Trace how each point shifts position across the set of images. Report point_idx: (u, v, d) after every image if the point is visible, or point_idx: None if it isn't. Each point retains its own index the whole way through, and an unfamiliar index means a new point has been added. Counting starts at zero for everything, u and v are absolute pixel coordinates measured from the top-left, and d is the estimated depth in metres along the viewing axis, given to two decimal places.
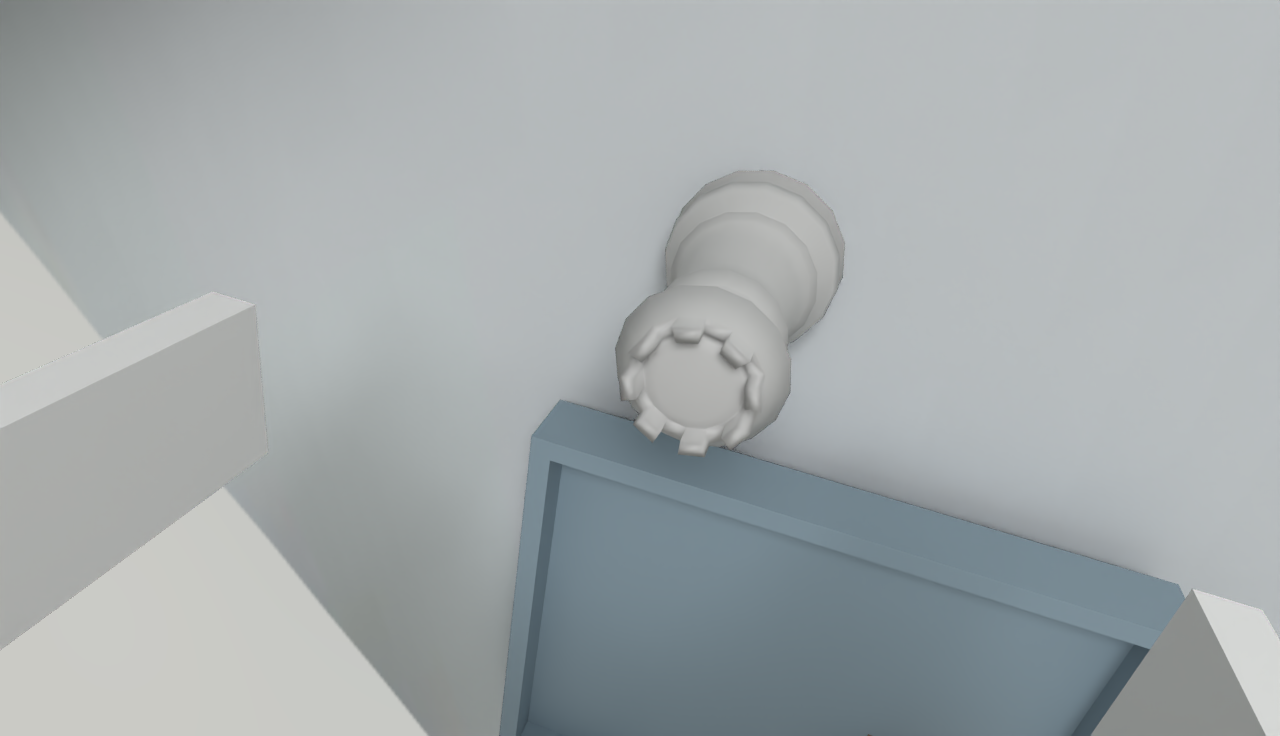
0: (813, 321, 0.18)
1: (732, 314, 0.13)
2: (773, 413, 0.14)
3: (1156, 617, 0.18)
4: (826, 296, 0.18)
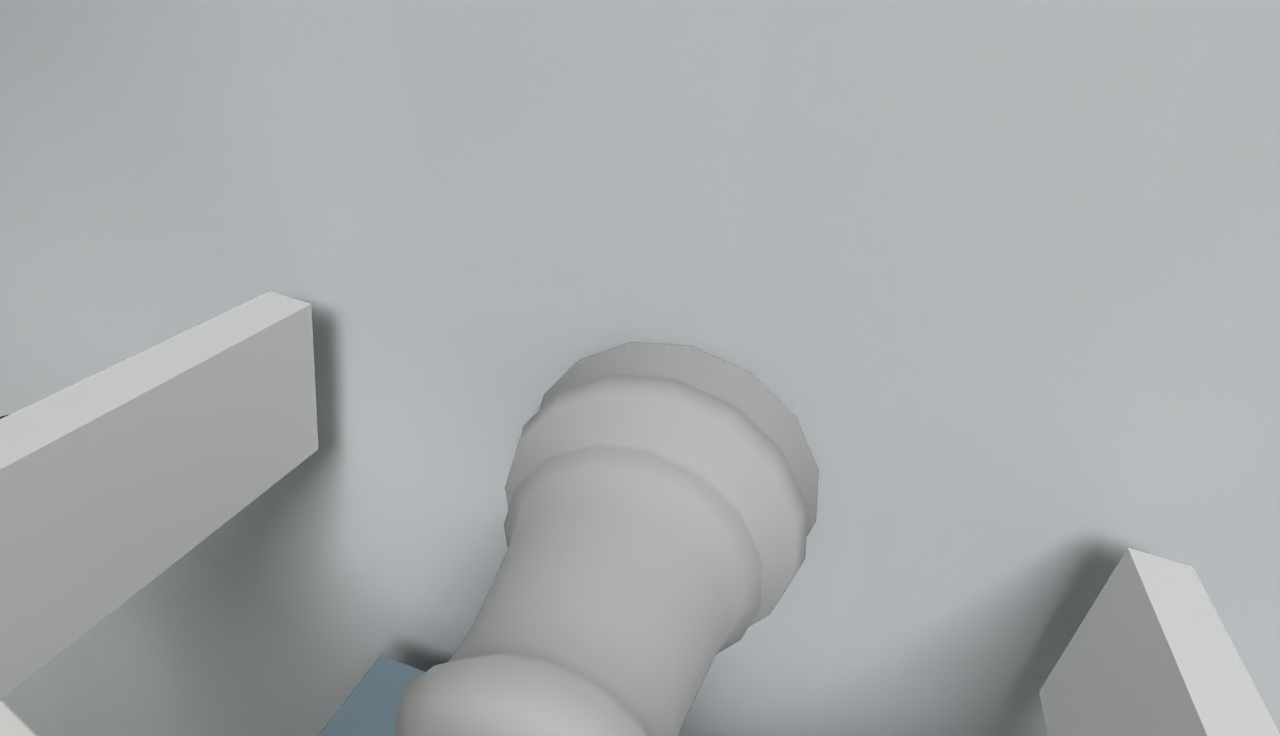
0: (761, 616, 0.10)
1: None
2: None
3: None
4: (782, 582, 0.10)
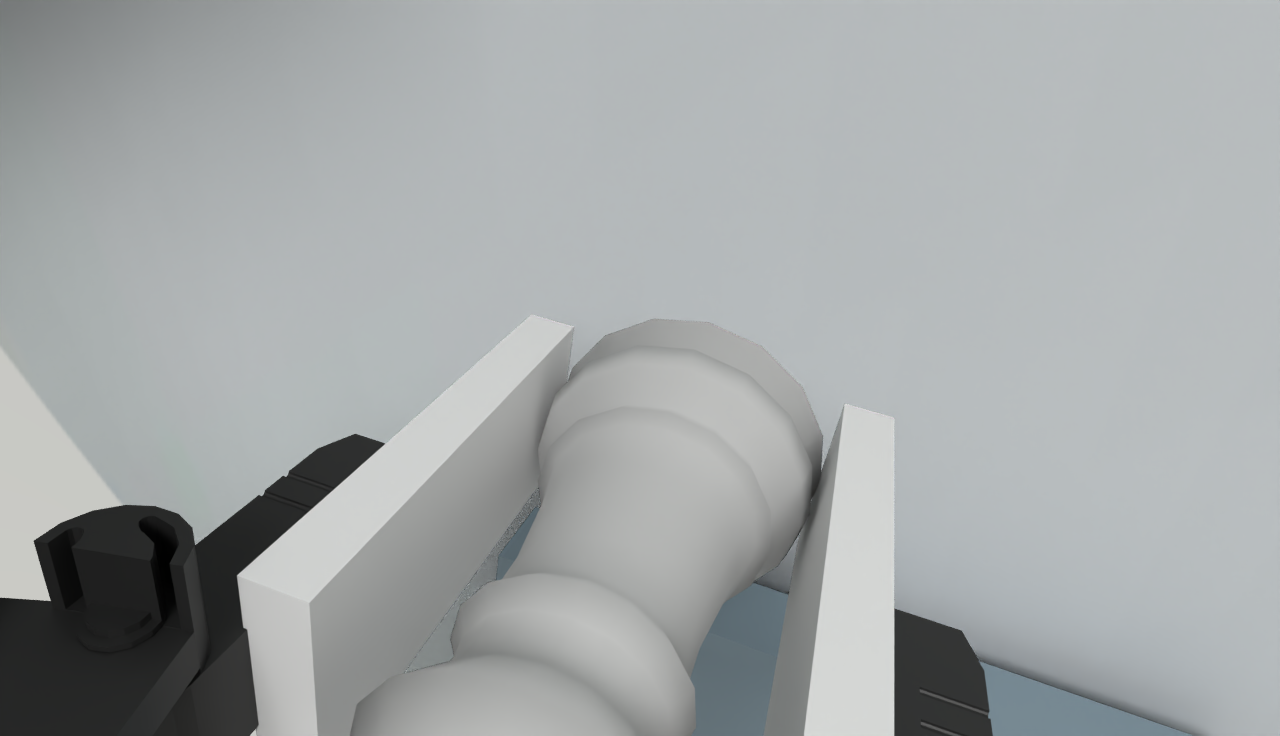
0: (769, 568, 0.11)
1: None
2: None
3: None
4: (789, 534, 0.11)
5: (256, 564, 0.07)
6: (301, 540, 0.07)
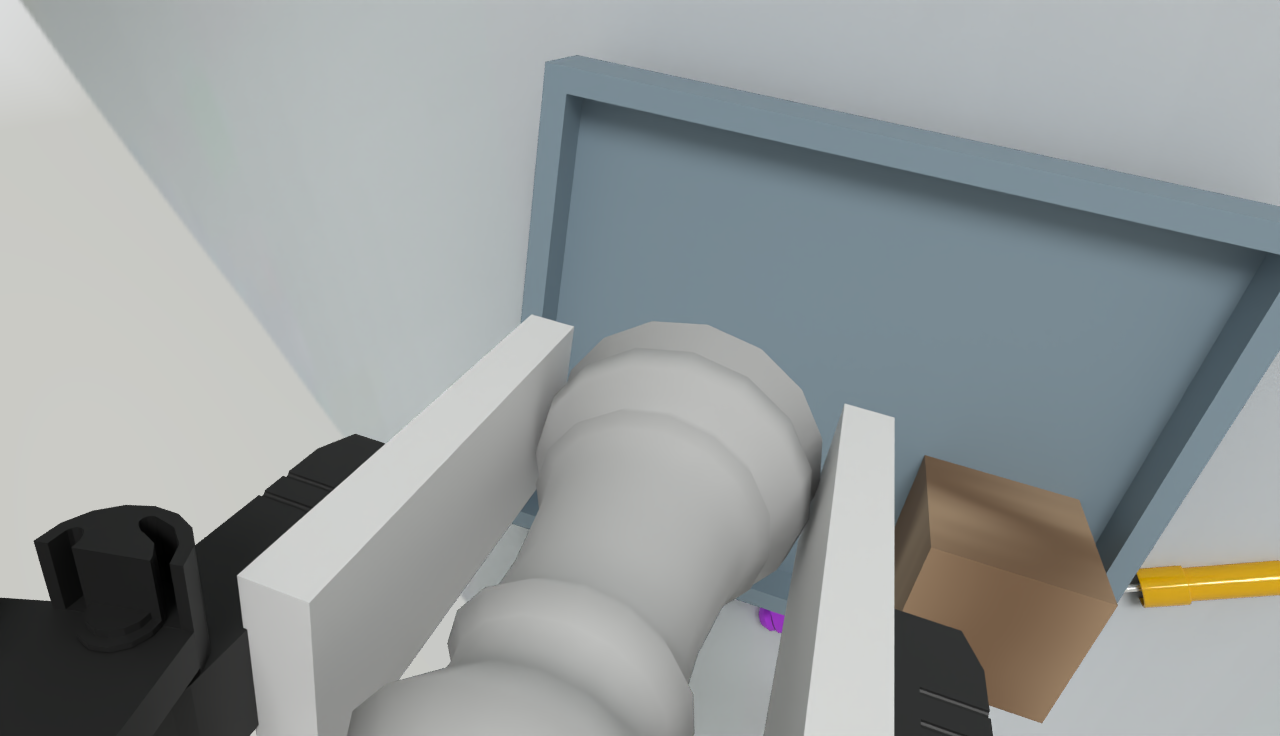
0: (768, 571, 0.11)
1: None
2: None
3: None
4: (788, 538, 0.11)
5: (256, 564, 0.07)
6: (301, 540, 0.07)
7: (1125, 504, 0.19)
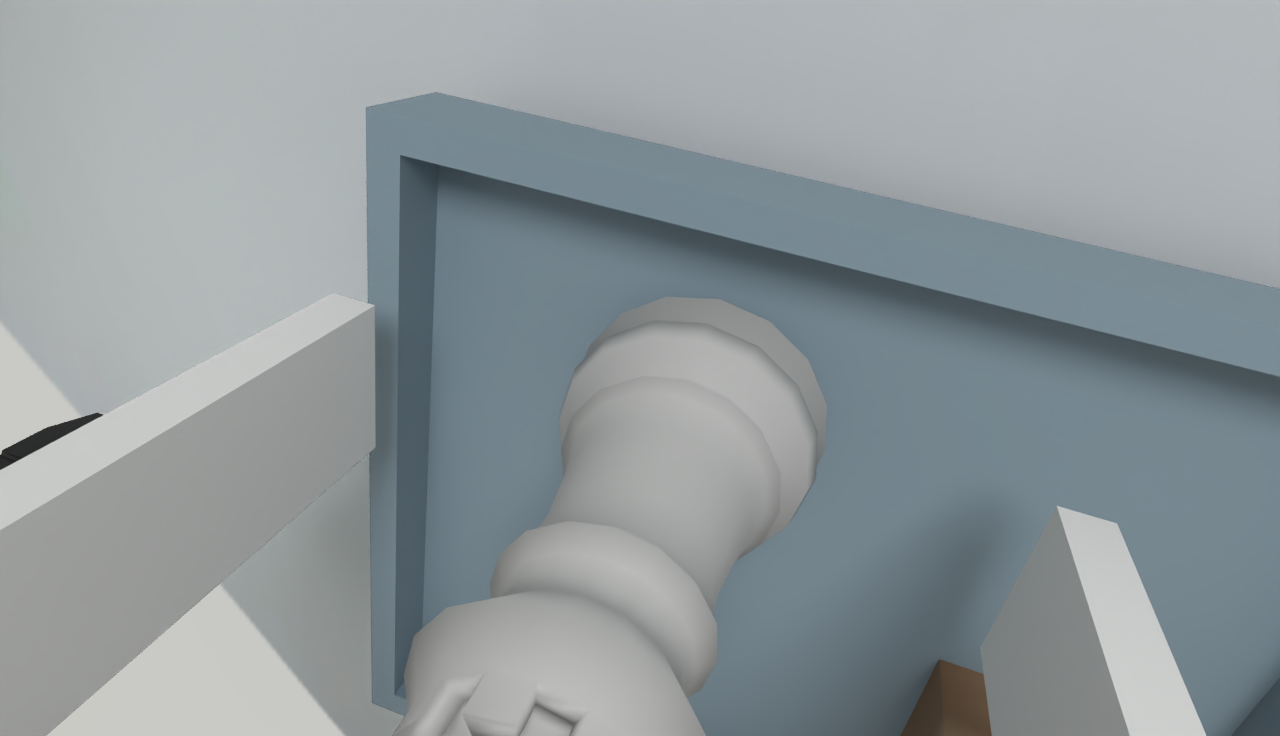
0: (778, 528, 0.12)
1: (589, 671, 0.07)
2: None
3: None
4: (797, 496, 0.12)
5: None
6: None
7: None
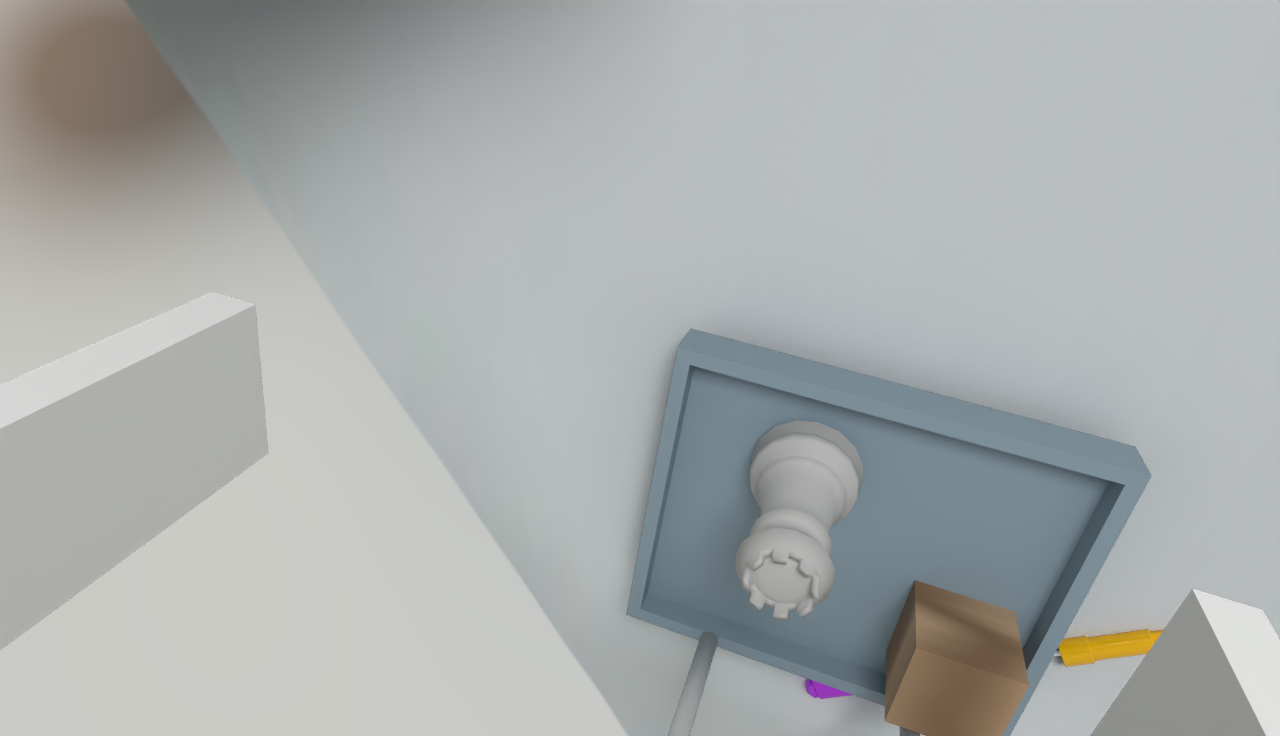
0: (844, 516, 0.30)
1: (803, 546, 0.24)
2: (824, 595, 0.25)
3: (1117, 460, 0.27)
4: (852, 502, 0.29)
5: None
6: None
7: (1043, 616, 0.30)
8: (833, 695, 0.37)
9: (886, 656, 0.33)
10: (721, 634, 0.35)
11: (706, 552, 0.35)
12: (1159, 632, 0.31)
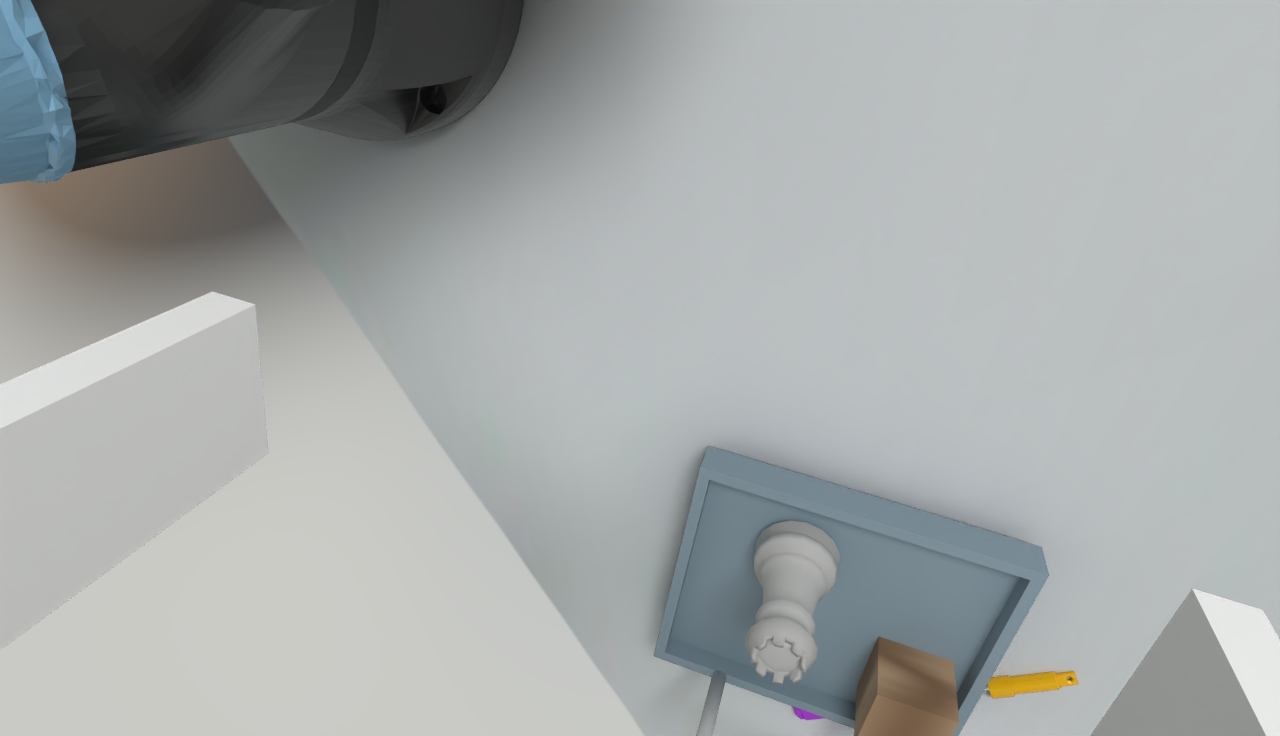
0: (825, 594, 0.39)
1: (795, 633, 0.34)
2: (810, 666, 0.34)
3: (1025, 561, 0.36)
4: (831, 585, 0.39)
5: None
6: None
7: (974, 666, 0.40)
8: (816, 717, 0.47)
9: None
10: (728, 672, 0.45)
11: (717, 610, 0.44)
12: (1061, 674, 0.41)
